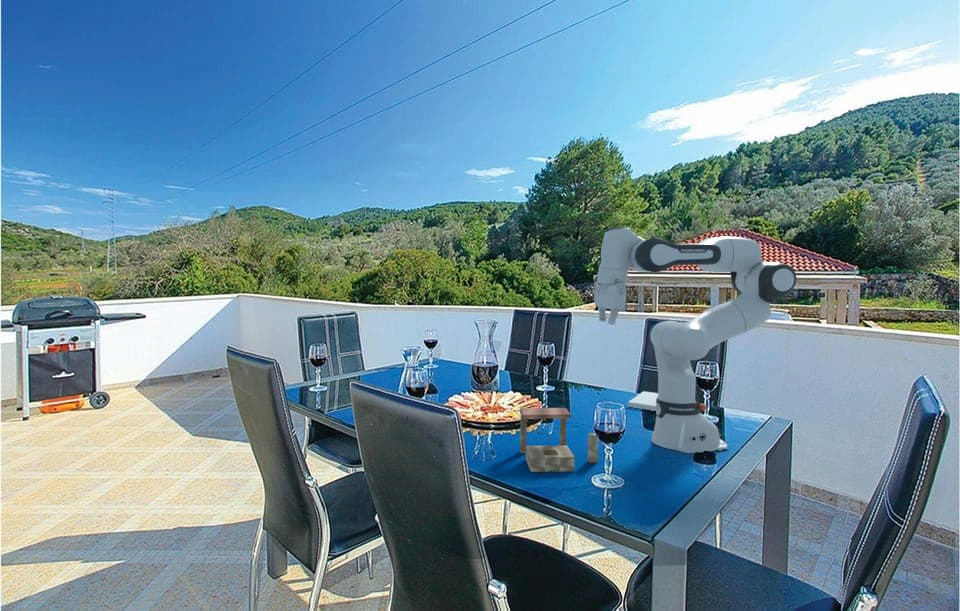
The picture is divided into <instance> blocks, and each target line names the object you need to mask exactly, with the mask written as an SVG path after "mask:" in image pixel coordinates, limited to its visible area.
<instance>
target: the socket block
mask: <svg viewBox="0 0 960 611" xmlns="http://www.w3.org/2000/svg"><path fill="white" fill-rule="evenodd" d="M525 461H526V463H527V466H528V469H529V471H531V472H534V473H535V472H537V473H538V472H540V473H541V472H547V473H548V472H550V471H552V472H553V471H554V472H575V456H574V454H573V453H572V451H571V449H570V448H569V446H568V445H566V446H559V445H526V453H525ZM550 473H551V472H550Z"/></svg>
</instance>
